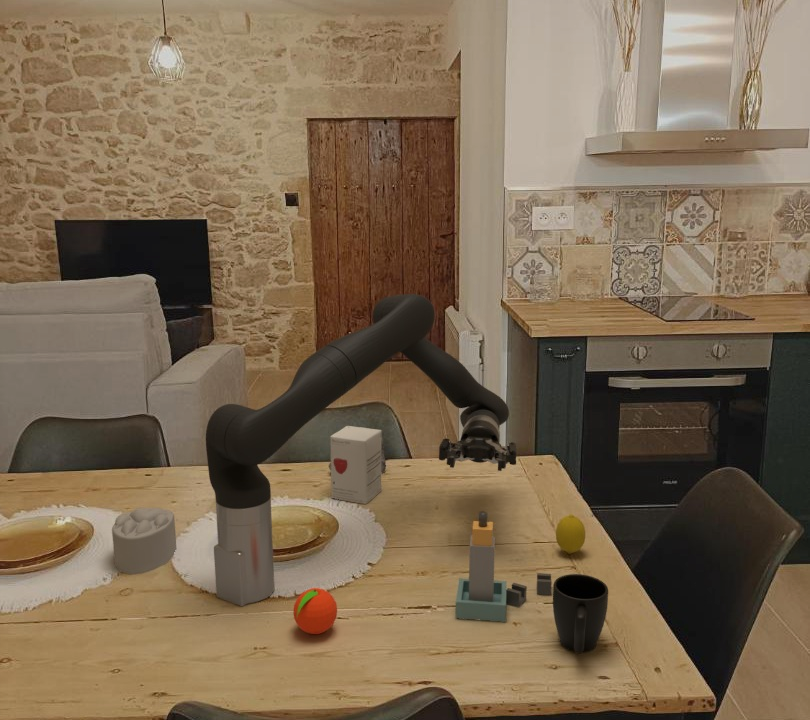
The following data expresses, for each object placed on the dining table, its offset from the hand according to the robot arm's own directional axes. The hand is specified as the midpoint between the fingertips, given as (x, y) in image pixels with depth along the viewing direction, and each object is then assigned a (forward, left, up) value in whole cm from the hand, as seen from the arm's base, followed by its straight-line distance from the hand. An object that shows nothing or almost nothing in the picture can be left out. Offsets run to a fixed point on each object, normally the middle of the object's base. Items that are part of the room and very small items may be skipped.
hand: (475, 464), depth 143 cm
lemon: (+16, -12, -21) cm, 29 cm away
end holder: (-11, -7, -21) cm, 25 cm away
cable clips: (-3, -12, -21) cm, 24 cm away
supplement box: (+18, +40, -21) cm, 48 cm away
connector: (-11, -7, -20) cm, 24 cm away
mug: (-14, -25, -21) cm, 36 cm away
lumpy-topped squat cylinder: (-29, +55, -21) cm, 66 cm away
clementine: (-32, +12, -21) cm, 40 cm away
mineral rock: (+31, +48, -21) cm, 61 cm away
